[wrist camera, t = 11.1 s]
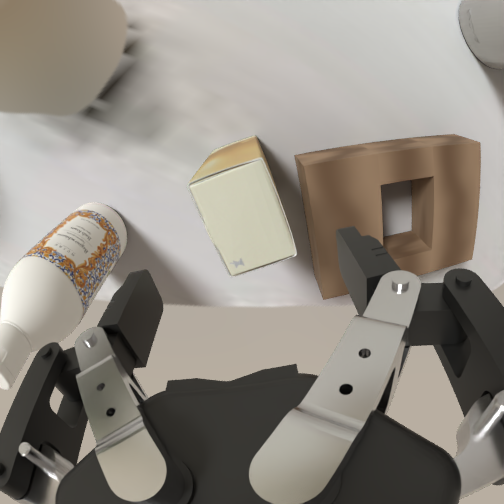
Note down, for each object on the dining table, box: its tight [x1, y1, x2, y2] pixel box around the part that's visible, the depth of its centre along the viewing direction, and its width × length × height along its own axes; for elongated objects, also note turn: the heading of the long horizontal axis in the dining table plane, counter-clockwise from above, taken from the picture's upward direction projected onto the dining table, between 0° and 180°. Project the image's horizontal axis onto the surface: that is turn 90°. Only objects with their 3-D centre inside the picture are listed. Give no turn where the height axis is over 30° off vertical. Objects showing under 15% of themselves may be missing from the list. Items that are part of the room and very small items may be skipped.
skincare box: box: [187, 135, 297, 278], centre depth 21 cm, size 6×4×12 cm
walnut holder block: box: [295, 134, 481, 300], centre depth 26 cm, size 18×13×4 cm
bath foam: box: [0, 202, 127, 390], centre depth 20 cm, size 7×7×20 cm
